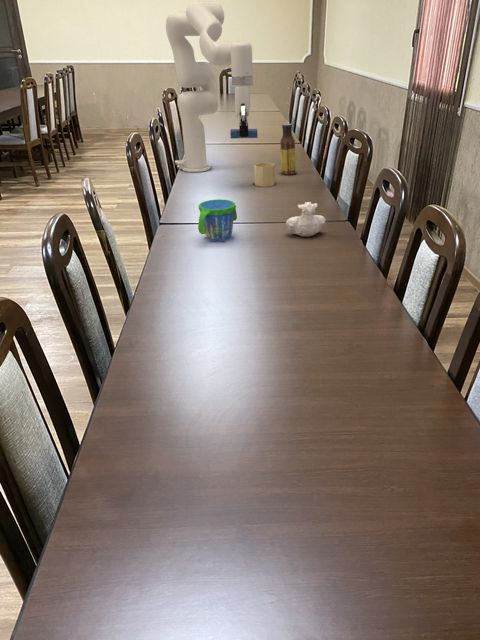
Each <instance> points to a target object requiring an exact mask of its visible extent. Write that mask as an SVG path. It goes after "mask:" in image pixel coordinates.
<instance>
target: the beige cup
mask: <svg viewBox="0 0 480 640" xmlns="http://www.w3.org/2000/svg"><path fill="white" fill-rule="evenodd" d="M275 169H276V167H275V163H273V162H258V163H254V164H253V174H254V186H256V187H263V188H267V187H272V186H275V185H276V183H275V182H276V178H275V177H276V173H275V171H276V170H275Z"/></svg>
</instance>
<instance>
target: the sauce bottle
mask: <svg viewBox="0 0 480 640" xmlns="http://www.w3.org/2000/svg"><path fill="white" fill-rule="evenodd" d="M281 128H282V137H281V139H280V142H279V143H280V170H281V171H280V172H281V174H282V175H284V176H285V175H286V176H292V175H295V174H296V173H297V170H296V169H297V165H296V164H297V162H296V160H297V159H296V141H295V139H294V136H293V123H282V125H281Z"/></svg>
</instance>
